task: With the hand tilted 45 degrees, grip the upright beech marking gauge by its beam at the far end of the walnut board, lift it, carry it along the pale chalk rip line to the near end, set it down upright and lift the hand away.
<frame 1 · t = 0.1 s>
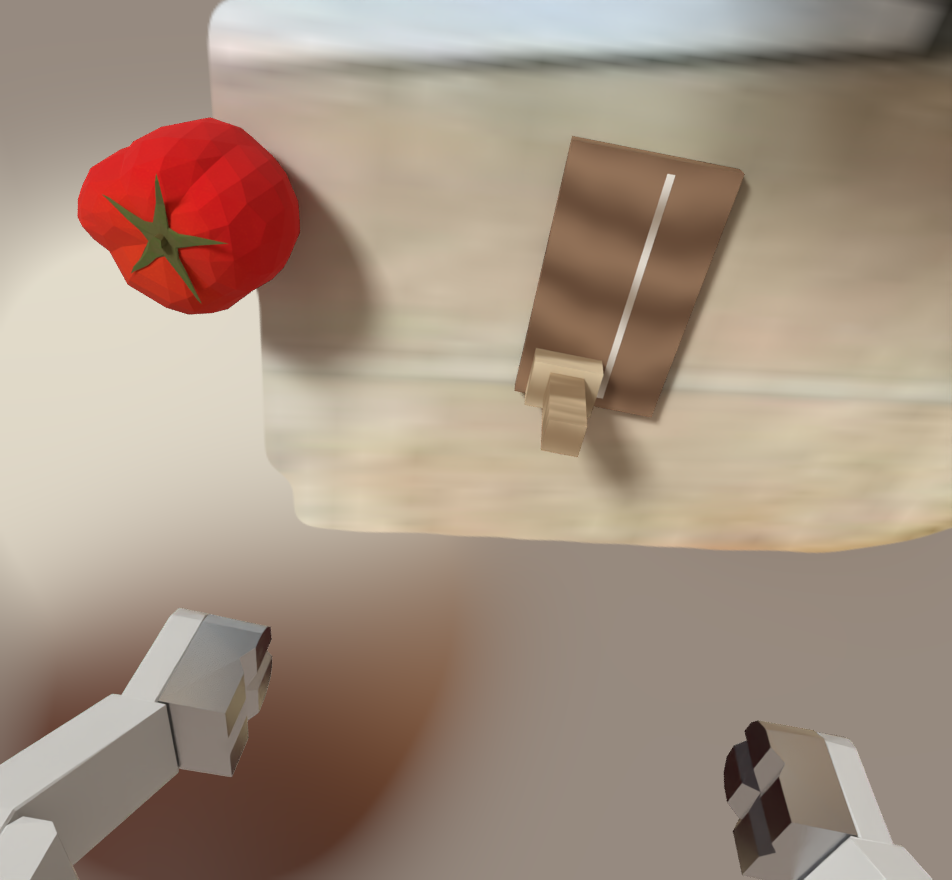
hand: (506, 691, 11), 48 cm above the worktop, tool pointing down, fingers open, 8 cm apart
marking gauge: (563, 376, 60), point 1 cm above the worktop, touching walnut board
walnut board: (615, 287, 56), on the worktop
tomato: (228, 193, 55), on the worktop
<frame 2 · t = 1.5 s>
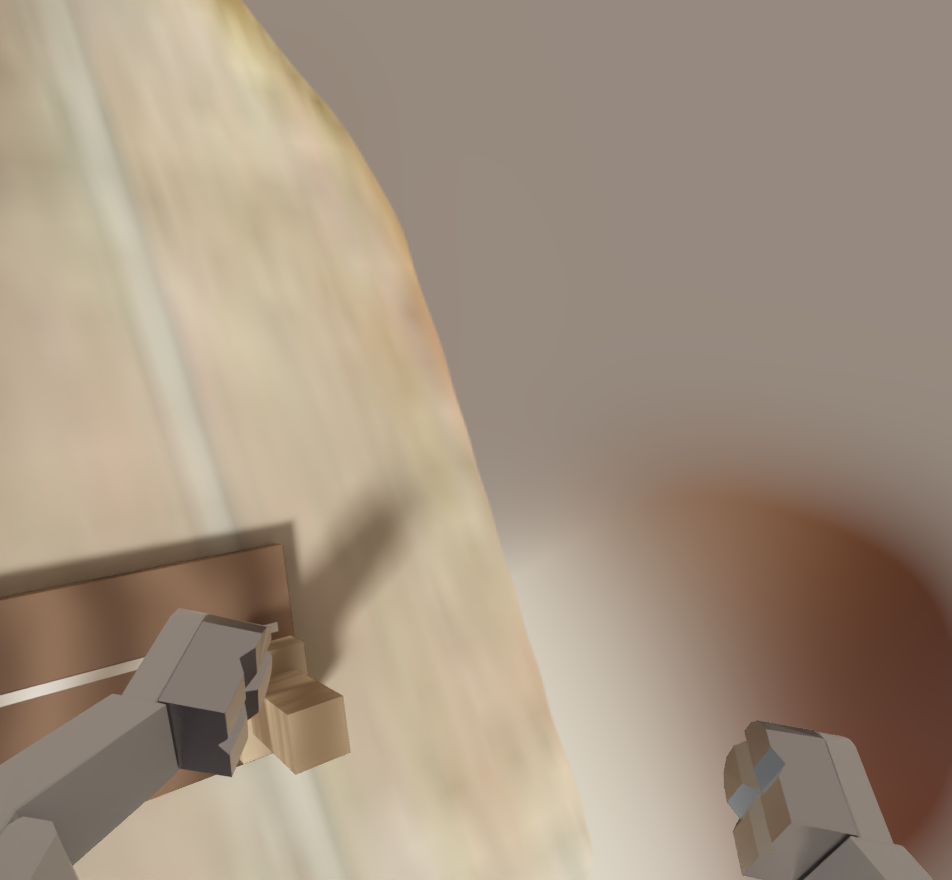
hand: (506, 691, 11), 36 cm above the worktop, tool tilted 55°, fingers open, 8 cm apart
marking gauge: (262, 691, 42), point 1 cm above the worktop, touching walnut board
walnut board: (104, 690, 39), on the worktop
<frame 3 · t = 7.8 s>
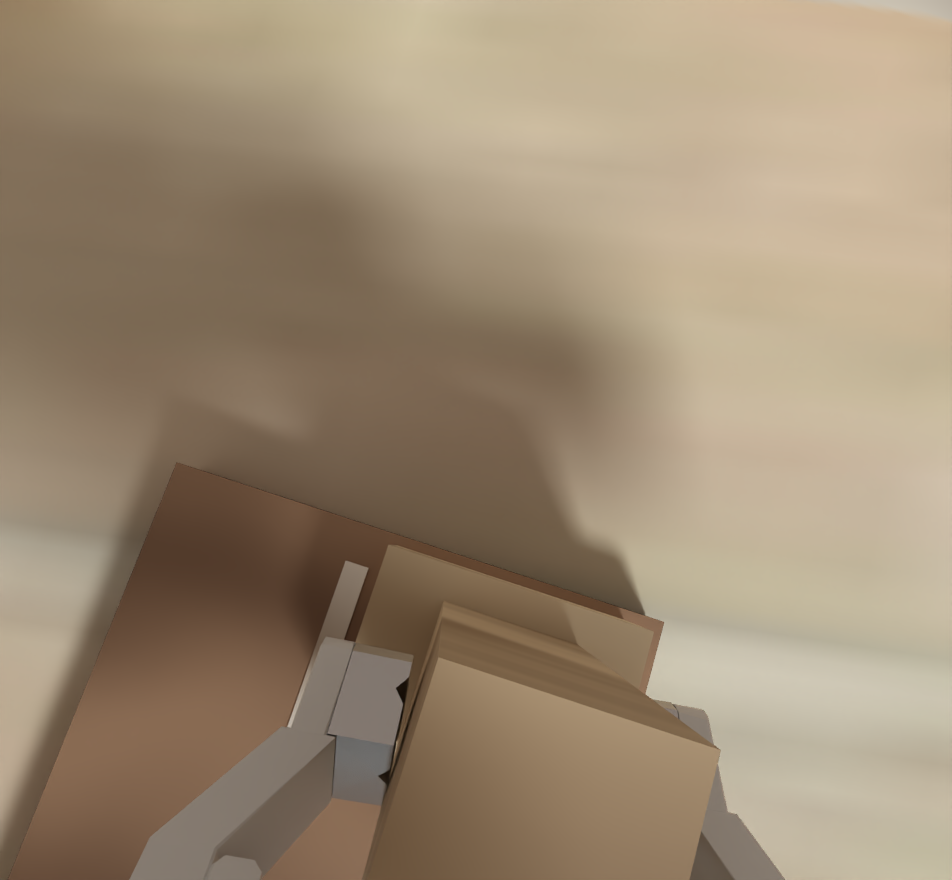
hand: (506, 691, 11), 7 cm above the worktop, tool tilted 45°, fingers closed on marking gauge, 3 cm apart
marking gauge: (483, 671, 16), point 2 cm above the worktop, touching gripper, walnut board
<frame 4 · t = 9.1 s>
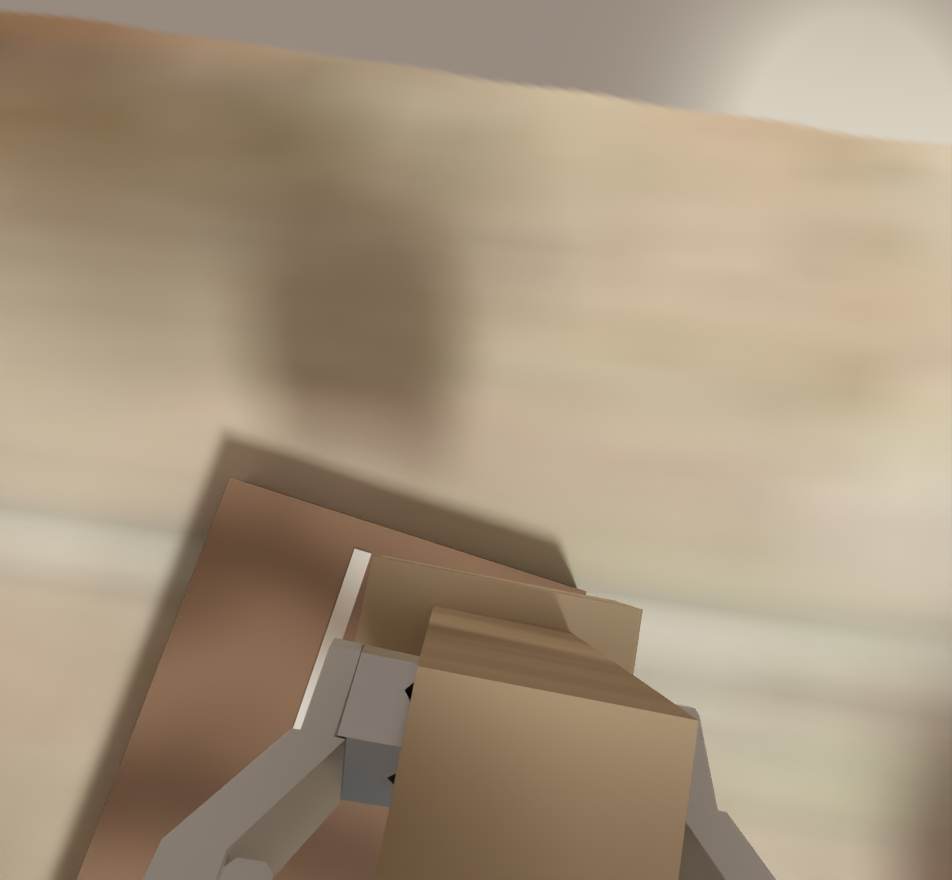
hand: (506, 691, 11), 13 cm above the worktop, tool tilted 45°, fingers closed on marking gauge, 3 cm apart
marking gauge: (482, 668, 17), point 8 cm above the worktop, touching gripper
walnut board: (308, 844, 23), on the worktop
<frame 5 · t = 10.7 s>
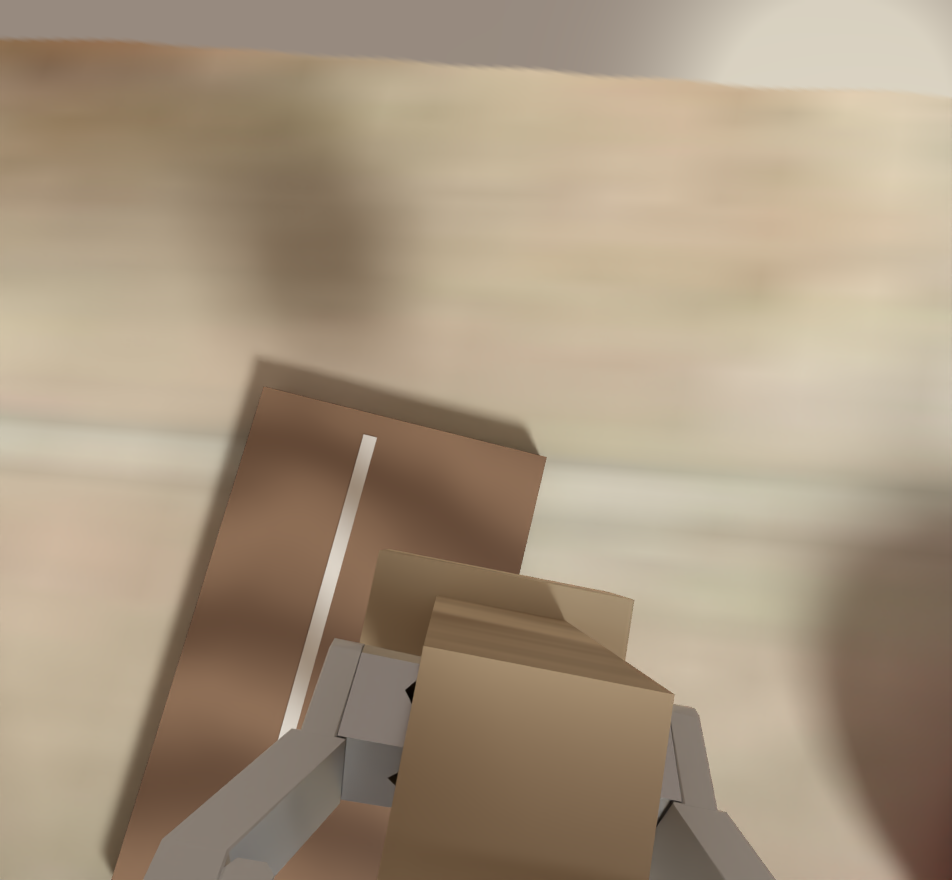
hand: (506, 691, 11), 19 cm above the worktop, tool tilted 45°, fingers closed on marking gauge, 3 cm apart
marking gauge: (483, 656, 17), point 12 cm above the worktop, touching gripper
walnut board: (343, 665, 29), on the worktop
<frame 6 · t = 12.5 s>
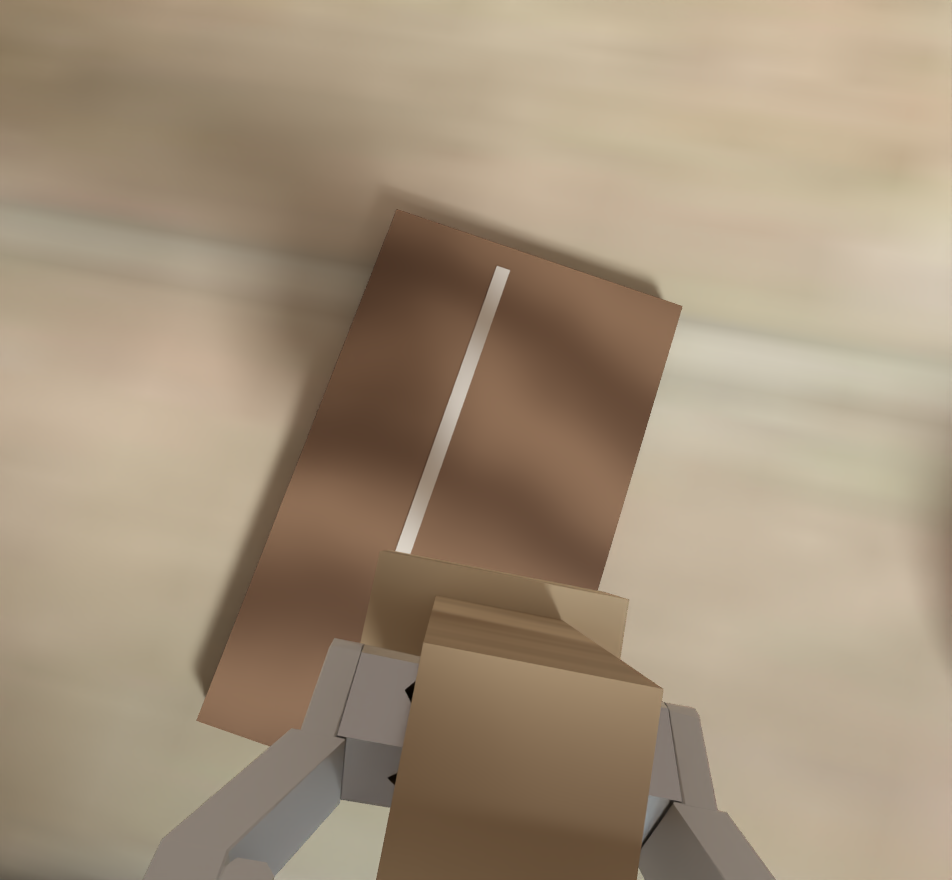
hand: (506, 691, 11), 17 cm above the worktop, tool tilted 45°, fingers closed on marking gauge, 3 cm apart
marking gauge: (481, 654, 18), point 10 cm above the worktop, touching gripper
walnut board: (455, 502, 28), on the worktop
when the fingers open (7 cm above the worktop, at t = 15.1 s): marking gauge stays where it is, resting on walnut board.
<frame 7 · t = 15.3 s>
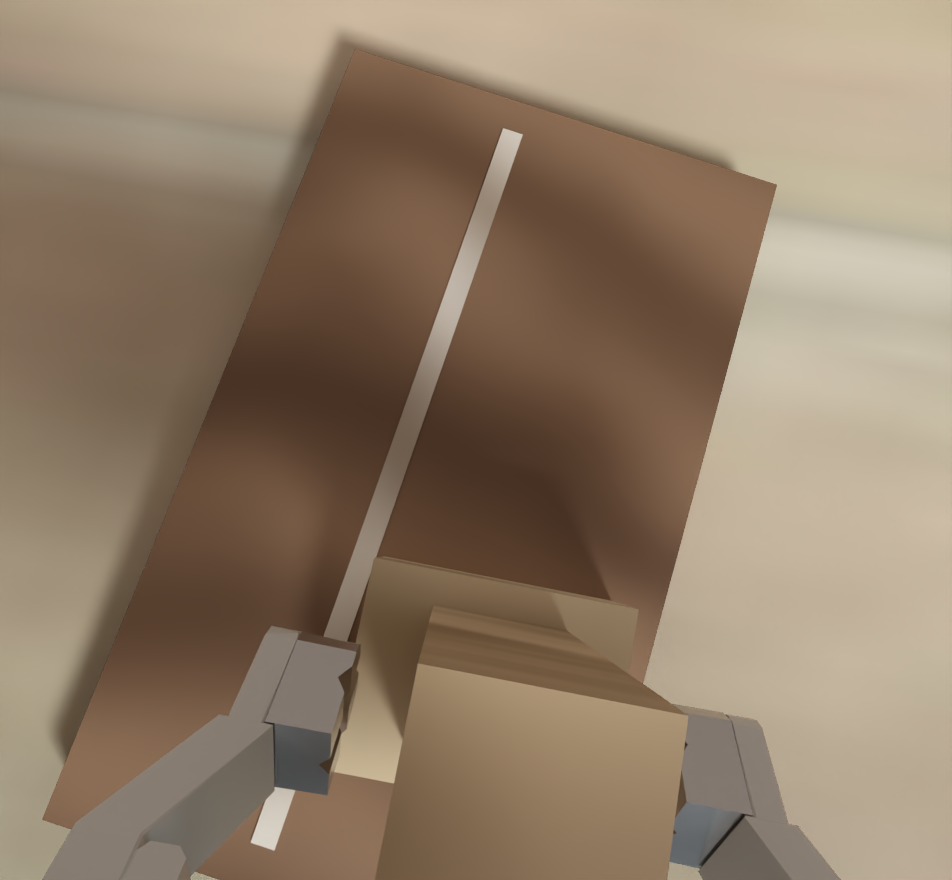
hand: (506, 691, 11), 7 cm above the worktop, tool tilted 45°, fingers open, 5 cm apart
marking gauge: (482, 667, 17), point 1 cm above the worktop, touching walnut board
walnut board: (446, 476, 19), on the worktop
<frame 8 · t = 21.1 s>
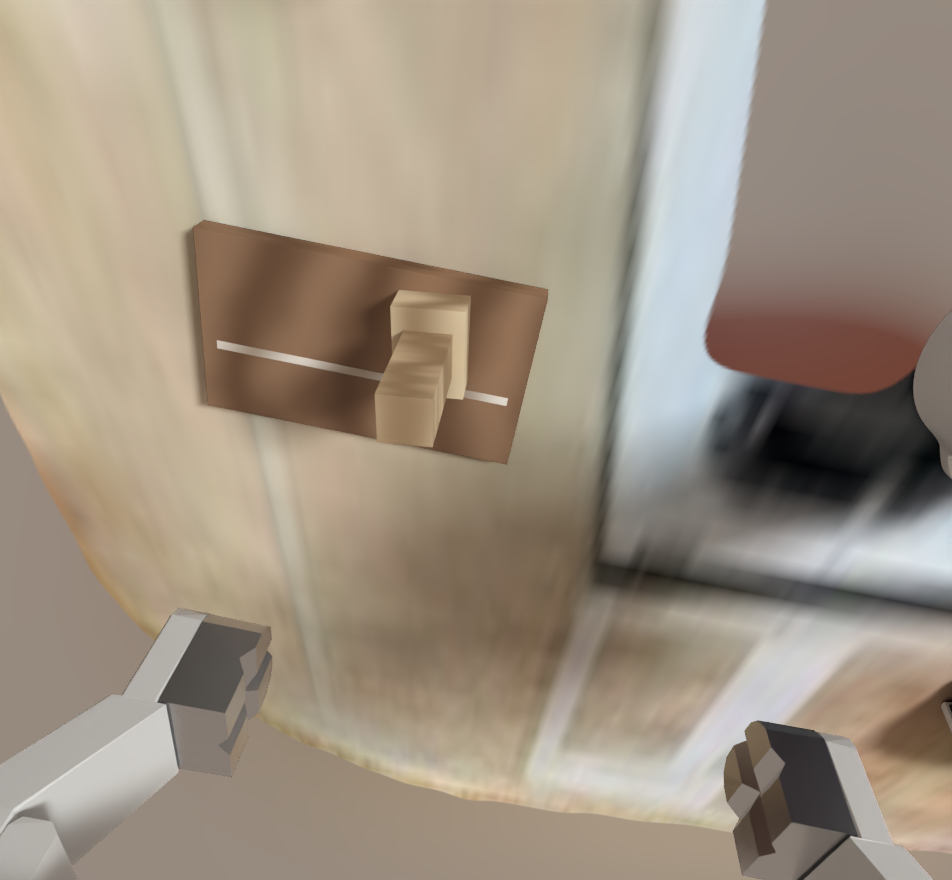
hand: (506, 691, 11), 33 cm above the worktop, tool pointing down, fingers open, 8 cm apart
marking gauge: (434, 336, 43), point 1 cm above the worktop, touching walnut board
walnut board: (369, 346, 45), on the worktop
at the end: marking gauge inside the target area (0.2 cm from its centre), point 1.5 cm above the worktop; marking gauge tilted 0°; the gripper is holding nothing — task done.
